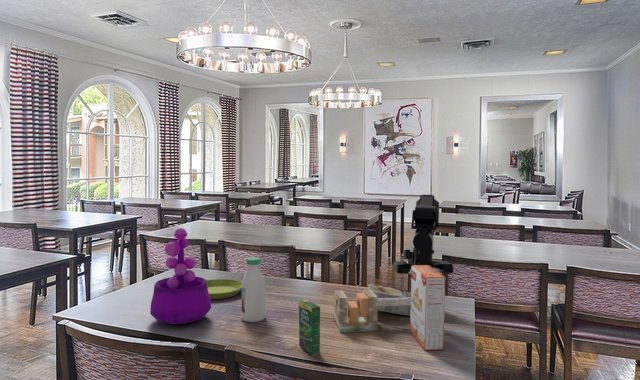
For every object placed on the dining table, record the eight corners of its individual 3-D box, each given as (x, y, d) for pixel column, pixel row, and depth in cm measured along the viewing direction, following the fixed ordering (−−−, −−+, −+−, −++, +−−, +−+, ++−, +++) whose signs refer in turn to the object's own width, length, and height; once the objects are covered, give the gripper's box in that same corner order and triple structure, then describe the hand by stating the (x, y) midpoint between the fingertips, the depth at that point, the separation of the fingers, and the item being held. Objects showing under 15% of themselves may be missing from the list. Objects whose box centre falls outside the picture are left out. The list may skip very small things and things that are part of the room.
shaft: (424, 311, 148) (425, 279, 148) (427, 314, 146) (428, 282, 145) (363, 313, 145) (364, 281, 145) (365, 316, 142) (366, 283, 142)
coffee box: (368, 282, 159) (412, 290, 160) (365, 300, 159) (409, 307, 160) (372, 291, 150) (419, 299, 151) (368, 309, 150) (415, 317, 151)
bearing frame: (368, 317, 150) (369, 287, 150) (378, 330, 139) (379, 298, 138) (333, 318, 149) (333, 288, 148) (340, 332, 137) (340, 300, 136)
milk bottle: (269, 316, 150) (269, 257, 149) (258, 324, 143) (259, 261, 141) (248, 313, 153) (248, 255, 151) (237, 321, 145) (237, 259, 144)
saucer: (254, 291, 178) (254, 283, 178) (216, 305, 161) (216, 296, 161) (216, 283, 189) (216, 275, 189) (177, 295, 172) (177, 287, 172)
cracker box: (408, 331, 138) (410, 264, 137) (427, 331, 139) (430, 264, 137) (422, 351, 124) (425, 276, 123) (444, 350, 125) (446, 276, 123)
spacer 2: (363, 310, 147) (364, 292, 146) (368, 316, 141) (368, 298, 141) (356, 310, 146) (356, 293, 146) (360, 316, 141) (360, 298, 140)
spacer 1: (354, 318, 146) (354, 301, 146) (358, 325, 141) (358, 307, 140) (347, 319, 146) (347, 301, 146) (350, 325, 140) (350, 307, 140)
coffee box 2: (297, 345, 127) (298, 299, 126) (306, 343, 129) (307, 298, 128) (310, 356, 120) (311, 308, 119) (320, 354, 121) (321, 306, 121)
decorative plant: (187, 335, 133) (186, 234, 131) (137, 326, 140) (135, 230, 138) (222, 314, 151) (222, 225, 149) (176, 307, 157) (175, 222, 155)
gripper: (441, 240, 155) (439, 285, 156) (388, 241, 152) (387, 286, 153) (455, 247, 144) (453, 295, 145) (398, 247, 141) (397, 296, 142)
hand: (422, 293), depth 146 cm, fingers closed on shaft, 3 cm apart
